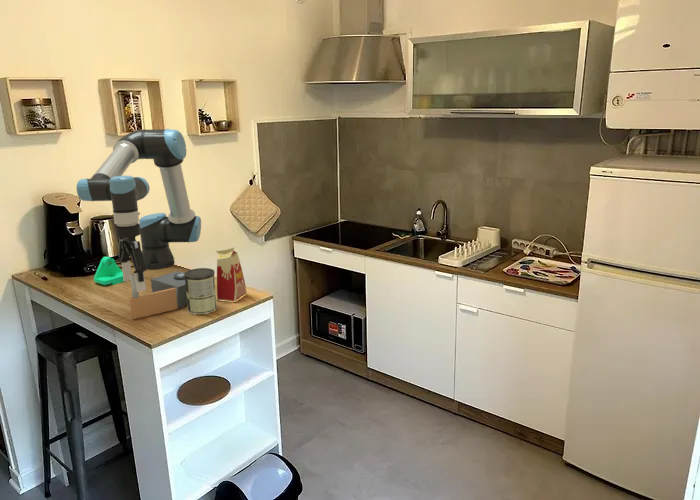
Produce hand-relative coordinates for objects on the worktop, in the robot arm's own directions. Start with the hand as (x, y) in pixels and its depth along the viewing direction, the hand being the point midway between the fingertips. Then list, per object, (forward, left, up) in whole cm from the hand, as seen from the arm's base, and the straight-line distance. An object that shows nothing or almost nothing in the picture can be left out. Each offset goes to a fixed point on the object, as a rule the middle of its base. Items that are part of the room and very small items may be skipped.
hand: (134, 285), depth 181 cm
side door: (-6, +2, -12) cm, 13 cm away
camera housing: (-20, -5, -12) cm, 24 cm away
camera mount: (-18, -44, -13) cm, 49 cm away
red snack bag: (-32, +10, -12) cm, 36 cm away
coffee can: (-18, +11, -12) cm, 25 cm away
